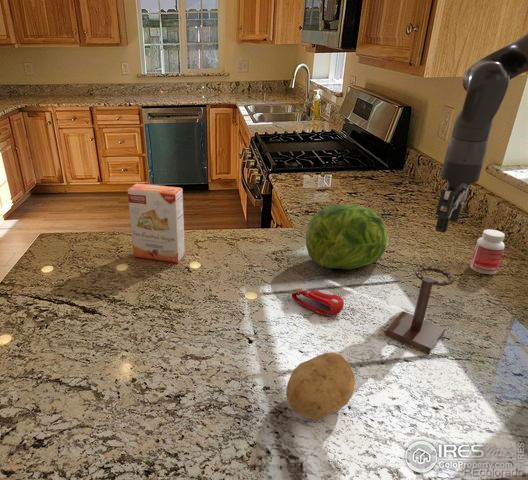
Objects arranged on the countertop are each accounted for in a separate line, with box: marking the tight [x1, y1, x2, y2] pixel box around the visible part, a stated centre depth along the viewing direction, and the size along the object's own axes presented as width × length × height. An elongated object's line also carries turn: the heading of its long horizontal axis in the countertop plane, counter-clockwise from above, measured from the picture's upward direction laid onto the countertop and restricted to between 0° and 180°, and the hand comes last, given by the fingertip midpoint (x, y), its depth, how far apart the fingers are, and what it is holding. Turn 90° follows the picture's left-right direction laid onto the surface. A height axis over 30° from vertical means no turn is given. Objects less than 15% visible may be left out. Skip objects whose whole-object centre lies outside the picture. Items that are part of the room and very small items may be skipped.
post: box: [384, 276, 446, 355], centre depth 87 cm, size 9×9×14 cm
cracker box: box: [127, 182, 186, 264], centre depth 119 cm, size 14×6×21 cm, turn 73°
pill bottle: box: [469, 228, 506, 275], centre depth 112 cm, size 6×6×11 cm
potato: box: [285, 351, 356, 420], centre depth 71 cm, size 10×14×8 cm
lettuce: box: [305, 203, 389, 270], centre depth 115 cm, size 18×23×19 cm
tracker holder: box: [288, 288, 345, 316], centre depth 99 cm, size 12×4×10 cm
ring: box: [415, 265, 455, 286], centre depth 110 cm, size 9×9×1 cm
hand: (446, 226), depth 101 cm, fingers open, 8 cm apart
